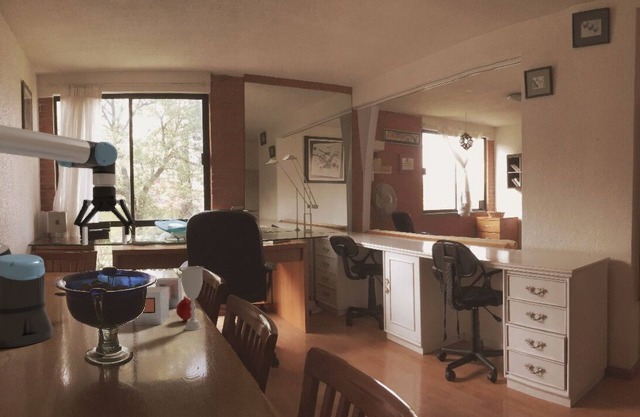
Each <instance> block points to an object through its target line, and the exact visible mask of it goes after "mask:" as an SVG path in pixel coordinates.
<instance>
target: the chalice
mask: <svg viewBox="0 0 640 417" xmlns="http://www.w3.org/2000/svg"><path fill="white" fill-rule="evenodd" d="M204 268H205V267H204V266H201V265H200V266H197V265H196V266H195V265H193V266H185V267H181V268H179V270H180V272H181V287H182V289H183V291H184V293H185V296H186V297H187V298H188V299H190V300H191V305H190V306H191V311H190V313H191V315H192V316H191V318H190V319H189V320H187V321H186V324H185V326H184V330H185V331H198V330H200V329H202V328H203V326H202V325H201V323H200V320H199V319H197V317H196V316H195V315H196V304H195V299H197V298H198V297H199V294H200V292H201V290H202V287H203V271H204ZM194 308H195V309H194Z"/></svg>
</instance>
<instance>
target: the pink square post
mask: <svg viewBox="0 0 640 417" xmlns="http://www.w3.org/2000/svg"><path fill="white" fill-rule="evenodd" d="M168 293H169V299H170V287H169V288H168ZM154 311H155V298H146V305H145V309H144V311H143V312H154Z"/></svg>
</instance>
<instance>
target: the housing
mask: <svg viewBox="0 0 640 417" xmlns="http://www.w3.org/2000/svg"><path fill="white" fill-rule="evenodd" d="M147 287H148V288H147V298H155V311H154V312H143V313H142V314H141V315H140V316H139V317H138V318H136V319H135V320H134V319H133V320H134V326H151V325H152V326H153V325H154V326H155V325H162V324H163V323H164V322H165V321H166V320H167V319H168V318H170V313H169V312H170V308H169V293H168V287H156V286H147Z"/></svg>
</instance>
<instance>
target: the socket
mask: <svg viewBox="0 0 640 417" xmlns="http://www.w3.org/2000/svg"><path fill="white" fill-rule="evenodd" d="M156 280H157V282H156V283H155V287H168V288H169V287H170V299H169V309H172V308H173V309H174V308H175V309H176V308H177V305H178V304H179V302H180V301H181V300H183V298H182V295H183V294H182V289H183V288H182V277H162V278H161V277H159V278H157V279H156Z"/></svg>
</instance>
